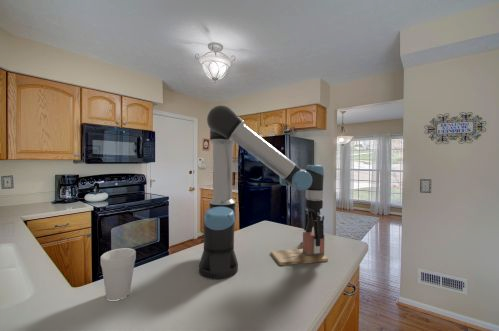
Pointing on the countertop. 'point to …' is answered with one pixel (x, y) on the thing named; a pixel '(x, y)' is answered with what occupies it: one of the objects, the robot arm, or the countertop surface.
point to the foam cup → (118, 272)
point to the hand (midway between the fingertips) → (312, 249)
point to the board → (295, 257)
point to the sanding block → (311, 244)
